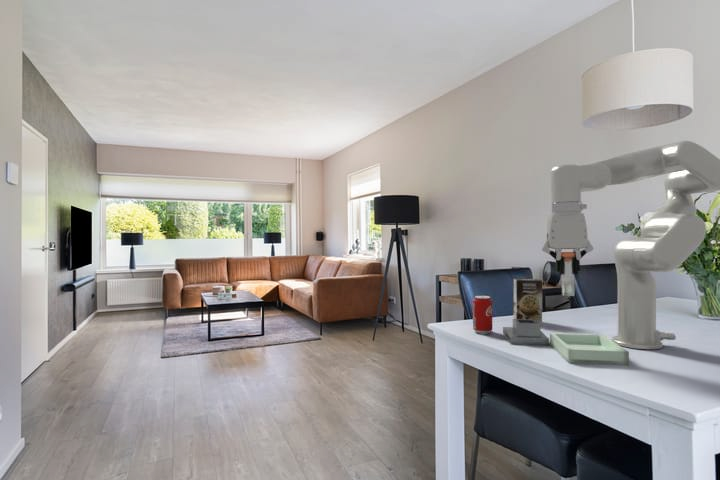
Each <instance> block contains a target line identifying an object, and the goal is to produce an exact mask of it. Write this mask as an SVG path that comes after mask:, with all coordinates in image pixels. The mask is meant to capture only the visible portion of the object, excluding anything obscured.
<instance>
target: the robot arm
mask: <svg viewBox="0 0 720 480" xmlns="http://www.w3.org/2000/svg"><path fill="white" fill-rule="evenodd" d="M666 174H667V175H666ZM663 175H666V177H665V179H664V185H663V186H664V191H665V202H664V204H663V205H662V206H661V207H660V208H658V209H657V211H656V212H655V213H654V214H652V216H650V218H649V219H648V220H647V221H646V222H645V223H644V224H643V225H642V227H641V230H640V236H641V237H640V236H639V237H636V236H635V237H628V238H624V239H622V240H619V242H617V243H616V244H615V246H614V249H613V259H614V264H615V269H616V275H617V276H616V278H617V279H616V280H617V335H614V336H612V337H611V341H612V342H614V343H616V344H617V345H619V346H621V347H625V348H629V349H630V348H631V349H637V350H659V349H661V348H663V347H664V346H663V344H664V343H663V341H664V340H667V341H675V340H676V334H675V333H673V332H665V331H659V330H658V329H657V285H656V281H655V279H654V275H653V274H652V272H656V273H668V272H669V273H670V272H672V271H674V270H676V269H677V268H679V267H680V266H681V265H682V264H683V263H684V262H685V261H686V260H687V259H688V258H689V257H690V256H691V255H692V254H693V253H694V252H695V251H696V250H697V249H698V248H699V247H700V246H701V245H702V243H703V241H704V239H705V237H706V234H707V225H706V223H705V221H704V219H703V218H702V217H701V216H699V215H697V207H696V205H695V203H694V200H693V197H692V195H694V194H701V193H711V192H712V193H713V192H719V191H720V158H719V157H717V156H716V155H715V154H713V153H712V152H711V151H709V150H708V149H707V148H705V147H703V146H702V145H700V144H698V143H696V142H693V141H690V140H682V141H677V142H673V143H668V144H664V145H660V146H659V145H658V146H655V147H649V148H646V149H642V150H638V151H633V152H628V153H624V154H620V155H617V156H613V157H611V158H607V159H603V160H601V161H597V162H593V163H588V164H581V165H577V164H561V165H557V166H554V167H552V168H551V170H550V191H551V192H550V195H551V214H549V215H547V222H546V223H547V224H546V241H545V243H544V245H543V246H542V248H541V251H542V252H544V253H546V254H548V255H550V256H551V257H552V258H553V259H554V260H555V271H556V272H557V274H558V275H561V276H562V274H563V261H562V260H561V252H563V250H572V252H575V253H576V257H574V275H578V274H579V272H580V271H581V269H580V268H581V267H580V266H581V265H580V264H581V259H582V258H583V257H585V255H587V254H588V253H590V252H592V251H593V250H594V247H593V245H592V243H591V242H590V240H589V236H588V228H587V222H586V217H585V213H582V211H584V210H587V209H588V205H587V204H585V203H583V202H582V193H584V192H592V191H598V190H602V189H605V188H606V187H607V186H608V187H609V186H616V185H623V184H624V185H625V184H628V183H630V184H631V183H634V182H638V181H642V180H646V179H650V178H651V179H652V178H655V177H657V176H663ZM553 250H554V251H553Z"/></svg>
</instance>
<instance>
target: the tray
mask: <svg viewBox="0 0 720 480" xmlns="http://www.w3.org/2000/svg"><path fill="white" fill-rule="evenodd" d="M549 335H550V337H549V346H551V347H552V348H553V349H554V351H556V352H557V353H558V354H559V355H560V356H561V358H563V359H564V360H565V361H566V362H567V363H568V364H583V365H584V364H585V365H603V366H604V365H605V366H606V365H607V366H608V365H610V366H630V352H629V350H627V349H625V348H623V346H620V345H617V344H616V343H614V342H612V339H609V338H607V337H606V336H605V335H603V334H599V333H598V334H593V333H565V332H564V333H563V332H559V333H556V332H550V333H549Z"/></svg>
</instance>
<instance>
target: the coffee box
mask: <svg viewBox="0 0 720 480" xmlns="http://www.w3.org/2000/svg"><path fill="white" fill-rule="evenodd" d="M512 315H513V316H512V317H513V318H512V320H513V319H535V320H536V321H538V322H539V323H540V325H543V280H541V279H538V278H513V314H512Z"/></svg>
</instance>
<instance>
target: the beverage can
mask: <svg viewBox="0 0 720 480" xmlns="http://www.w3.org/2000/svg"><path fill="white" fill-rule="evenodd" d="M472 330H474V332H475V333H477V334H483V335H484V334H486V335H487V334H490V333H491V332H492V331H493V300H492V299H491V296H489V295H475V296H474V298H473V300H472Z"/></svg>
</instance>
